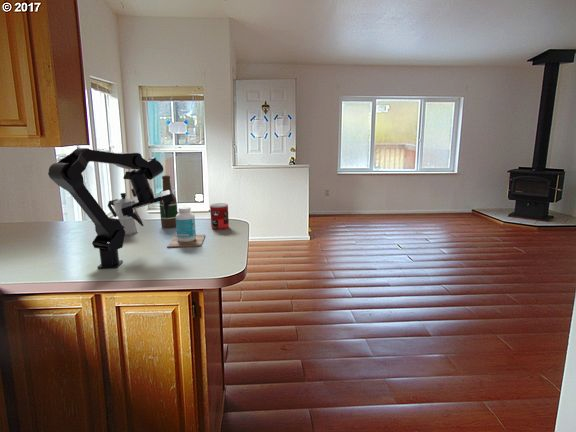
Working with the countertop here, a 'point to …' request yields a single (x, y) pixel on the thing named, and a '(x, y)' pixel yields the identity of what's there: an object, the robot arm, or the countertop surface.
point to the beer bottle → (172, 208)
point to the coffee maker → (124, 220)
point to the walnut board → (196, 243)
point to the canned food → (219, 216)
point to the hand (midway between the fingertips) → (155, 221)
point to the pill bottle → (185, 225)
